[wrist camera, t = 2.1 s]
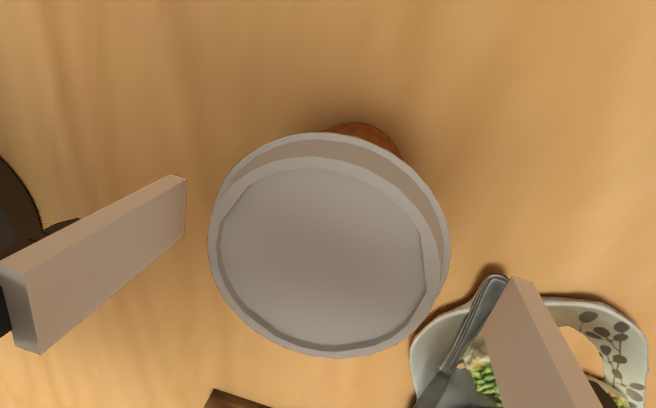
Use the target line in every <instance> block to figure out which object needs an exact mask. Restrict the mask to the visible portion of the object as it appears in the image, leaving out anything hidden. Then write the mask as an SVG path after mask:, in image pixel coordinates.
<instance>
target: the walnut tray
mask: <svg viewBox="0 0 656 408" xmlns="http://www.w3.org/2000/svg"><path fill="white" fill-rule="evenodd" d="M204 408H270V407H267V406H264V405H261V404H258V403H255V402H252V401H249V400H246V399H243V398H240V397H237V396H234V395H231V394H228V393H225V392H222V391H219V390H216V389H214V390H213V392H212V393H211V395H210V397H209V399H208V401H207V403H206V404H205V406H204Z"/></svg>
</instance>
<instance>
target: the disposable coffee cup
mask: <svg viewBox="0 0 656 408" xmlns="http://www.w3.org/2000/svg"><path fill="white" fill-rule="evenodd" d="M207 248H208V257H209V262H210V268H211V273H212V275H213V278H214V280H215V282H216V285H217V287H218V289H219V291H220V292H221V294H222V296H223V297H224V299H225V301H226V302H227V304H228V305H229V306H230V307H231V308H232V309H233V311H234V312H235V313H236V314H237V315H238V316H239V317H240V318H241V319H242V320H243V321H244V322H245V323H246V324H247V325H248V326H250V327H251V328H252V329H253V330H254V331H256V332H257V333H259V334H260V335H262V336H263V337H265V338H266V339H268V340H270V341H272V342H274V343H276V344H278V345H280V346H282V347H284V348H286V349H289V350H292V351H296V352H299V353H302V354H306V355H309V356H314V357H323V358H333V359H344V358H353V357H361V356H369V355H372V354H374V353H377V352H379V351H382V350H384V349H387V348H389V347H392V346H395V345H397V344H398V343H399V342H401V341H402V340H403V339H405V338H406V337H407V336H409V335H410V334H411V333H413V332H414V331H415V330H416V329H417V328H418V326H419V325H420V324H421V323H422V322H423V321H424V319H425V318H426V317H427V315H428V313H429V311H430V309H431V307H432V305H433V303H434V301H435V299H436V298H437V297H438V295H439V293H440V291H441V289H442V286H443V284H444V282H445V280H446V277H447V274H448V268H449V263H450V236H449V232H448V227H447V223H446V219H445V216H444V214H443V211H442V209H441V207H440V204H439V202H438V201H437V199H436V197H435V195H434V194H433V192H432V190H431V189H430V188H429V187H428V186H427V184H426V183H425V182H424V181H423V180H422V179H421V178H420V176H419V175H418V174H417V173H416V172H415V171H414V170H413V169H412V168H411V166H409V165H408V164H407V163H405V162H404V161H403V159H402V157H401V156H400V154H399V152H398V150H397V148H396V146H395V144H394V143H393V142H392V140H391V139H390V138H389V137H388V136H387V135H386V134H385V133H383V132H382V131H381V130H379V129H377V128H375V127H373V126H370V125H367V124H363V123H346V124H341V125H338V126H335V127H333V128H331V129H328V130H326V131H323V132H310V133H298V134H294V135H290V136H286V137H283V138H279V139H276V140H273V141H271V142H268V143H266V144H264V145H262V146H261V147H259V148H258V149H256V150H254V151H253V152H251V153H250V154H248V155H247V156H245V157H244V158H243V159H242V160H241V161H240V162H239V163H238V164H237V165H236V166H235V167H234V168H233V169H232V170H231V172H230V173H229V174H228V176H227V177H226V179H225V180H224V182H223V183H222V185H221V187H220V189H219V192H218V194H217V196H216V199H215V203H214V207H213V210H212V219H211V221H210V225H209V231H208V238H207Z"/></svg>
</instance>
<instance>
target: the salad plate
mask: <svg viewBox="0 0 656 408" xmlns="http://www.w3.org/2000/svg"><path fill="white" fill-rule="evenodd" d="M509 280H510V279H509V278H508V277H506V276H505V275H502V274H499V273H493V274H490V275H488V276H487V277H485V279H484V280H483V281H482V283H481V284H480V286H479V288H478V290H477V292H476V293H475V295H474V297H473V298H472V299H471V300H470V301H469V302H467V303H466V304H464V305H461V306H459V307H457V308H455V309H452V310H450V311H447V312H445V313H442V314H440V315H438V316H437V317H435V318H434V319H433V320H432V321H431V322H429V323H428V324H427V325H426V326H425V327H424V328H423V329H422V330H421V331H420V332H419V333H417V334H416V335H415V336H414V338H413V342H412V345H411V347H410V357H409V360H410V368H411V372H412V378H413V384H414V388H415V392H416V395H417V401H416V403H415V405H414V406H413V408H503V404H502V401H501V397H500V394H499V390H498V387H497V383H496V380H495V376H494V373H493V369H492V366H491V362H490V358H489V355H488V351H487V348H486V344H485V341H484V337H483V334H482V330H481V329H482V327H483V326H484V324H485V322H486V320H487V319H488V317H489V315H490V313H491V312H492V310H493V308H494V306H495V305H496V303H497V301H498V299H499V298H500V296H501V294H502V292H503V291H504V289H505V287H506V285H507V284H508V282H509ZM541 298H542V300H543V302H544V303H545V305H546V307H547V309H548V310H549V312H550V314H551V316H552V318H553V319H554V321H555V323H556V325H557V326H558V327H561V326H570V327H572V328H574V329H576V330H578V331H579V332H581V333H582V334H584V335H585V336H586V337H587V338H588V339H589V340H590V341H591V342H592V343H593V344H594V345H595V346H596V347H597V349H598V351H599V354H600V356H601V357H602V360H603V368H604V379H603V380H598V379H596V378H594V376H592V375H589V374H585V376H586V378H587V379H588V380H591V381H594V382H597V383H598V384H599V385H600V386H601V387H602V388H603V389H604V390H605V391H606V392H607V394H608V395H609V396H610V397H611V398H612V399H613V400H614V401H615V403H616V404H617V406H618V408H644V397H645V388H646V376H647V373H648V371H649V368H648V342H647V340H646V337H645V336H644V334H643V333H642V332H641V331H640V330H639V329H638V327H637V326H636V324H635V323H634V321H633V320H632V319H630V318H628V317H626V316H625V315H624V314H622V313H621V312H619V311H617V310H615V309H614V308H612V307H610V306H609V305H607V304H605V303H603V302H598V301H592V300H584V299H573V298H566V297H553V296H541ZM460 363H464V364H465V368H464V369H458V368H456V367H457V365H458V364H460Z"/></svg>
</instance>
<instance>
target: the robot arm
mask: <svg viewBox="0 0 656 408" xmlns="http://www.w3.org/2000/svg"><path fill="white" fill-rule="evenodd" d="M186 183H187V179H185V178H182V177H178V176H175V175H171V174H168V175H166V176H164V177H162V178H160V179H158V180H156V181H154V182H153V183H151V184H149V185H147V186H145V187H143V188H141V189H139V190H137V191H135V192H133V193H131V194H129V195H127V196H125V197H123V198H121V199H119V200H117V201H116V202H114V203H112V204H110V205H108V206H106V207H104V208H102V209H100V210H98V211H96V212H94V213H92V214H90V215H88V216H86V217H84V218H82V219H79V218H75V219H71V220H67V221H63V222H59V223H57V224H54V225H52V226H50V227H48V228H46V229H44V230H42V231H41V227H40V223H39V219H38V216H37V213H36V210H35V208H34V205H33V203H32V201H31V199H30V197H29V195H28V194H27V192H26V190H25V189H24V187H23V186H22V184H21V183H20V181H19V180H18V178H17V177H16V176H15V175H14V173H13V172H12V171H11V170H10V168H9V167H8V166H7V165H6V164H5V163H4V162H3V161H2V160H1V159H0V338H1V337H2V336H4V335H5V334H7V333H8V332H9V331H11V330H12V334H13V338H14V342H15V346H17V347H20V348H22V349H25V350H28V351H31V352H33V353H36V354H39V355H41V354H43V353H44V352H45V351H46V350H47V349H49V348H50V347H51V346H52V345H53V344H55V343H56V342H57V341H58V340H60V339H61V338H62V337H63V336H64V335H66V334H67V333H68V332H69V331H70V330H72V329H73V328H74V327H75V326H76V325H78V324H79V323H80V322H81V321H82V320H84V319H85V318H86V317H87V316H88V315H90V314H91V313H92V312H93V311H94V310H96V309H97V308H98V307H99V306H100V305H102V304H103V303H104V302H105V301H106V300H108V299H109V298H110V297H111V296H112V295H114V294H115V293H116V292H117V291H118V290H120V289H121V288H122V287H123V286H125V285H126V284H127V283H128V282H129V281H131V280H132V279H133V278H134V277H135V276H137V275H138V274H139V273H140V272H141V271H143V270H144V269H145V268H146V267H147V266H149V265H150V264H151V263H152V262H153V261H155V260H156V259H157V258H158V257H159V256H161V255H162V254H163V253H164V252H165V251H167V250H168V249H169V248H170V247H171V246H173V245H174V244H175V243H176V242H177V241H179V240H180V239H181V238H182V237H183V236H184V228H185V206H186ZM481 330H482V334H483V337H484V341H485V344H486V348H487V351H488V355H489V358H490V362H491V366H492V369H493V373H494V376H495V380H496V383H497V387H498V390H499V394H500V397H501V401H502V404H503V408H618V406H617V404H616V403H615V401H614V400H613V399H612V398H611V397H610V396H609V395H608V394H607V392H606V391H605V390H604V389H603V388H602V387H601V386H600V385H599V384H598V383H597V382H594V381H591V380H588V379H587V378H586V376H585V374H584V372H583V371H582V369H581V367H580V365H579V364H578V362H577V360H576V358H575V357H574V355H573V353H572V351H571V349H570V348H569V346H568V344H567V342H566V341H565V339H564V337H563V335H562V333H561V332H560V330H559V328H558V326H557V325H556V323H555V321H554V319H553V318H552V316H551V314H550V312H549V310H548V309H547V307H546V305H545V303H544V302H543V300H542V298H541V296H540V295H539V293H538V291H537V289H536V287H535V286H534V284H533V282H530V281H527V280H523V279H520V278H517V277H513V276H512V277H511V278H510V280H509V282H508V284H507V285H506V287H505V289H504V291H503V292H502V294H501V296H500V298H499V299H498V301H497V303H496V305H495V306H494V308H493V310H492V312H491V313H490V315H489V317H488V319H487V320H486V322H485V324H484V326H483V327H482V329H481Z"/></svg>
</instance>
